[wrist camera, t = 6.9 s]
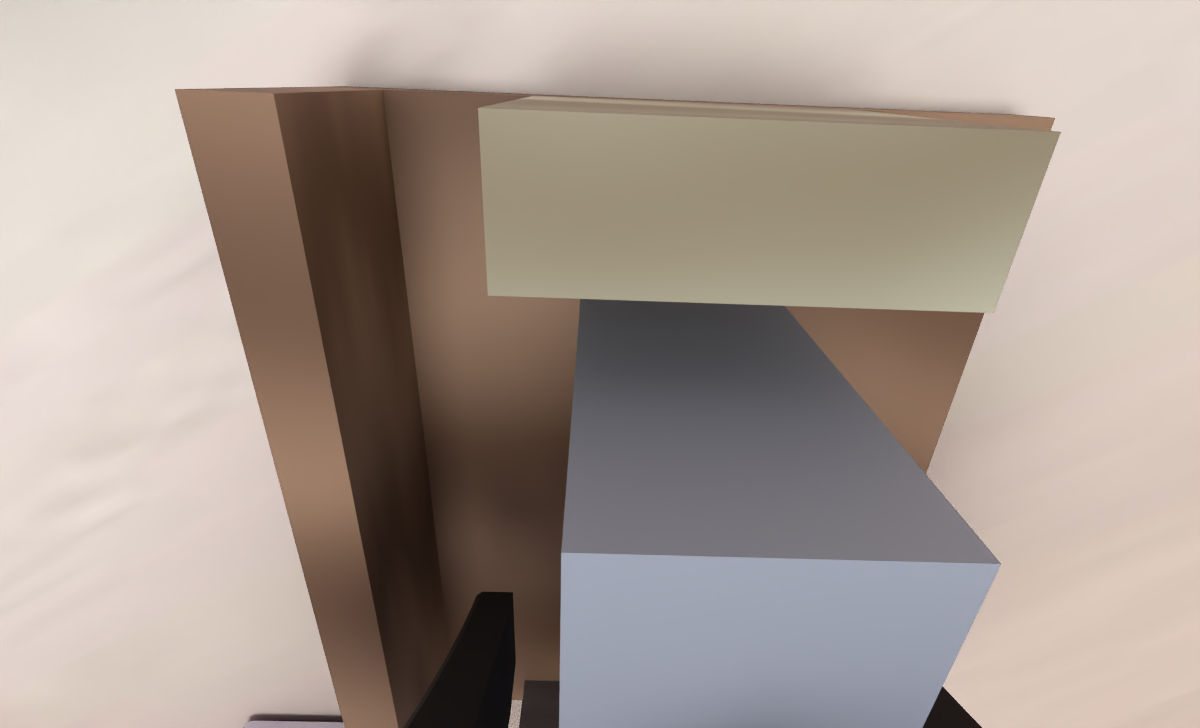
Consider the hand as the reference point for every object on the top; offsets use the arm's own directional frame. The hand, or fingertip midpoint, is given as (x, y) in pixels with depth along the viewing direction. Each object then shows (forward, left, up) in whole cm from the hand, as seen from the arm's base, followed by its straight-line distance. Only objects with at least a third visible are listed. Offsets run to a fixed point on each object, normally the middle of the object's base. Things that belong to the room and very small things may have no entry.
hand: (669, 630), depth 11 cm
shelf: (0, 0, -5) cm, 5 cm away
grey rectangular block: (0, 0, -4) cm, 4 cm away
